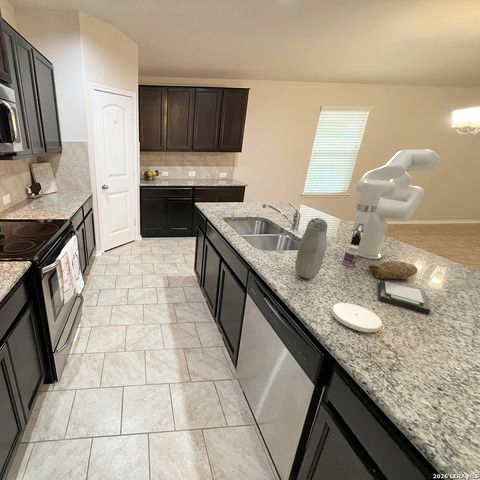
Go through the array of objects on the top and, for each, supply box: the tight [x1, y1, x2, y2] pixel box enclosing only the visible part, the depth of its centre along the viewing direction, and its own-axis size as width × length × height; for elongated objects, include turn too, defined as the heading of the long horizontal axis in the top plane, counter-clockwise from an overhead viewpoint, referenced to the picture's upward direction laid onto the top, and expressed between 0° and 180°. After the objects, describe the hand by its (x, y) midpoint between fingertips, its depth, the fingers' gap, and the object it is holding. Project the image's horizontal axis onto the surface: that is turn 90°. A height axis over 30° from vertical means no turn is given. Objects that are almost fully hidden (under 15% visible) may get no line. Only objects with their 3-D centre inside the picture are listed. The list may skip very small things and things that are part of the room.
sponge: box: [368, 260, 418, 280], centre depth 118 cm, size 13×8×20 cm
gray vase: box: [294, 217, 328, 279], centre depth 113 cm, size 10×10×28 cm
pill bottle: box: [342, 245, 359, 267], centre depth 128 cm, size 5×5×10 cm
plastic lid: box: [331, 302, 383, 333], centre depth 88 cm, size 14×14×2 cm
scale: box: [378, 279, 431, 316], centre depth 101 cm, size 16×14×3 cm
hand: (355, 242), depth 125 cm, fingers open, 9 cm apart
